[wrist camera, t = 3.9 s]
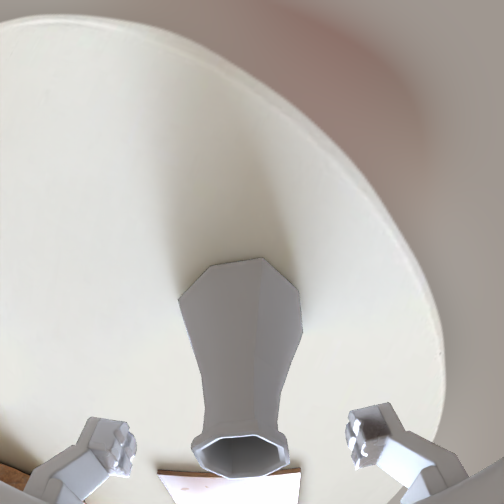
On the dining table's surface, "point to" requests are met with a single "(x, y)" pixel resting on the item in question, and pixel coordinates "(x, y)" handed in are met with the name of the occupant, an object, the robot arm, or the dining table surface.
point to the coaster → (232, 488)
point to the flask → (242, 364)
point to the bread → (14, 477)
